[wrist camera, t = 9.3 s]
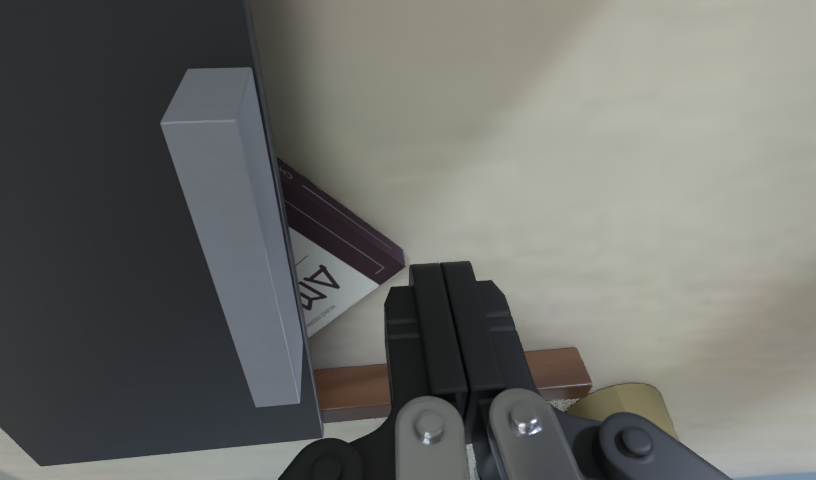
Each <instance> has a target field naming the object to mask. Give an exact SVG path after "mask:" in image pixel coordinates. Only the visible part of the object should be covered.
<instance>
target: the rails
mask: <svg viewBox="0 0 816 480" xmlns="http://www.w3.org/2000/svg"><path fill="white" fill-rule="evenodd" d="M524 354H525V357H526V360H527V363H528V366H529V369H530V372H531V375H532V378H533V381H534V383H535V386H536V388H537V390H538V391H539V393H540V394H541V395H542V397H543V398H544V399H545V400H546V401H556V400H566V399H576V398H586V397H587V396H588V394H589V392H590V390H591V388H592V386H593V383H592V381H591V379H590V376H589V374H588V372H587V370H586V367H585V365H584V363H583V361H582V359H581V356H580V354H579V352H578V350H577V348H565V349H553V350H542V351H530V352H524ZM314 374H315V380H316V386H317V392H318V397H319V403H320V409H321V414H322V420H323V423H331V422H341V421H352V420H362V419H372V418H382V417H388V416H389V414H390V412H391V403H390V392H389V382H388V371H387V364H380V365H369V366H357V367H346V368H334V369H323V370H314Z"/></svg>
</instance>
